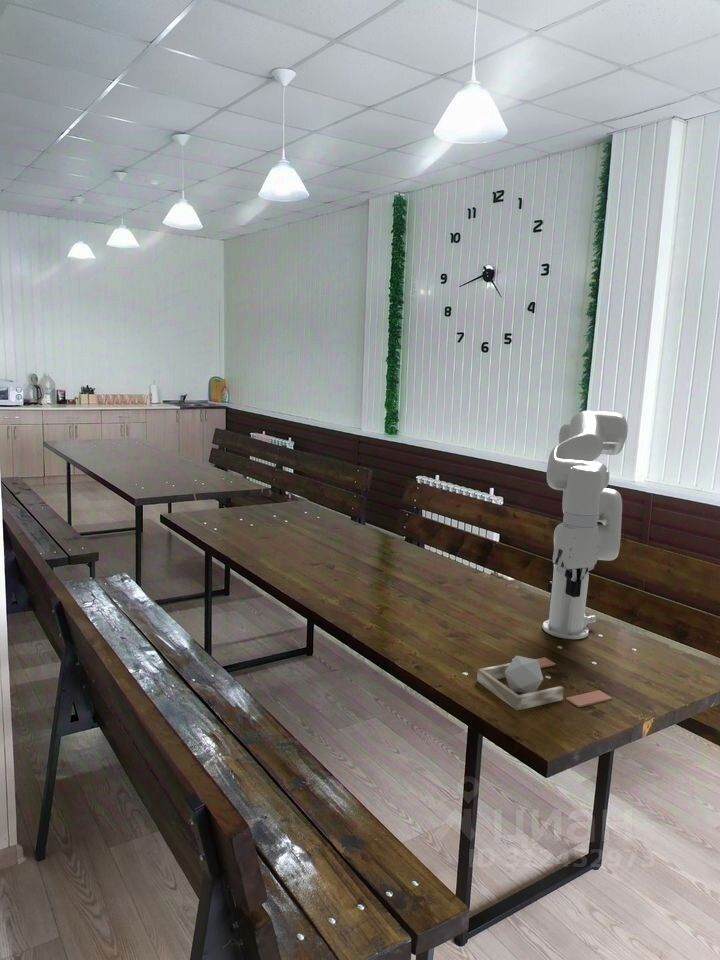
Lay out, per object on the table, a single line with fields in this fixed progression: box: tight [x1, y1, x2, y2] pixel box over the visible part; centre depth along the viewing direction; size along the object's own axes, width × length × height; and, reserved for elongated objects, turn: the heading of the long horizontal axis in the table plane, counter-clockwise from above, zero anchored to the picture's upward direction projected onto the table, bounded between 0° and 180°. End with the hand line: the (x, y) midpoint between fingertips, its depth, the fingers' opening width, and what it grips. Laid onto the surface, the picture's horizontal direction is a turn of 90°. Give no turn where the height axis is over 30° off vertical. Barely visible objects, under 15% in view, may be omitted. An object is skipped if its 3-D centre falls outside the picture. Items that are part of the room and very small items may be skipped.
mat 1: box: [534, 656, 556, 669], centre depth 179 cm, size 10×4×1 cm, turn 116°
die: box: [505, 655, 544, 695], centre depth 165 cm, size 8×9×10 cm
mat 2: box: [565, 689, 613, 708], centre depth 163 cm, size 10×4×1 cm, turn 116°
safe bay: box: [476, 662, 565, 712], centre depth 165 cm, size 13×15×3 cm
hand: (572, 595), depth 168 cm, fingers closed
